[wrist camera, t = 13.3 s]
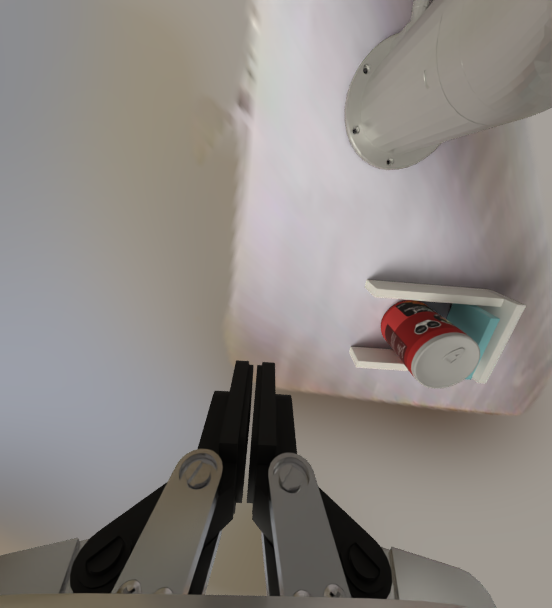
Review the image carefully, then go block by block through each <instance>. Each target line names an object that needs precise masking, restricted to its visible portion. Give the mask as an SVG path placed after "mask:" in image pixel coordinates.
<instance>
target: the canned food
mask: <svg viewBox="0 0 552 608" xmlns="http://www.w3.org/2000/svg"><path fill="white" fill-rule="evenodd" d="M381 332H382V335H383V337H384V339H385V340H386V341H387V343H388V344H389V345H390V347H391V348H392V349H393V351H394V352H395V353H396V354H397V356H398V357H399V358H400V360H401V361H402V362H403V364H404V365H405V366H406V368H407V369H408V370H409V372H410V373H411V374H412V375H413V377H414V378H415V379H416V380H417V381H418V382H419V383H420V384H422V385H423V386H425V387H428V388H434V389H439V388H446V387H450V386H453V385H455V384H457V383H459V382H461V381H462V380H464V379H465V378H467V377H468V376H469V375H470V374H471V373H472V372H473V371H474V369H475V368H476V366H477V365H478V362H479V359H480V349H479V346H478V344H477V343H476V342H475V341H474V340H473V339H472V338H471V337H470V336H468V335H467V334H466V333H464V332H463V331H462V330H460V329H459V328H458V327H456V326H455V325H453V324H452V323H451V322H449V321H448V320H446V319H445V318H444V317H442V316H441V315H439V314H438V313H437V312H435V311H434V310H433V309H431V308H430V307H428V306H427V305H426V304H424V303H422V302H419V301H413V300H406V301H402V302H399V303H397V304H395V305H393V306H392V307H391V308H389V310H388V311H387V312H386V313H385V314H384V316H383V318H382V321H381Z"/></svg>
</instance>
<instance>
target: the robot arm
mask: <svg viewBox="0 0 552 608" xmlns="http://www.w3.org/2000/svg"><path fill="white" fill-rule="evenodd" d="M428 5H429V0H414V3H413V7H412V15H411V20H410V23H408V24H407V25H406V26H405V27H404V29H403V30H402V31H401V32H400V33H397V34H394V35H392V36H390V37H389V38H387V39H385V40H383V41H382V42H381V43H380V44H378V45H377V46H376V47H375V48H374V49H373V50H372V51H371V52H370V53H369V54H368V55H367V57H366V58H365V59H364V60H363V62H362V63H361V65H360V66H359V68H358V69H357V71H356V73H355V75H354V77H353V79H352V81H351V84H350V87H349V90H348V93H347V97H346V103H345V126H346V132H347V135H348V138H349V141H350V143H351V145H352V147H353V149H354V150H355V152H356V153H357V154H358V155H359V156H360V158H361V159H362V160H364V161H365V162H367V163H368V164H369V165H371V166H374V167H376V168H379V169H385V170H395V169H402V168H406V167H409V166H412V165H414V164H416V163H418V162H420V161H422V160H423V159H425V158H426V157H427V156H429V155H430V154H431V153H432V152H433V151H435V149H436V148H437V147H438V146H439V145H440V144H441V143H442V142H445V141H449V140H452V139H455V138H459V137H462V136H466V135H469V134H473V133H476V132H479V131H483V130H486V129H490V128H493V127H497V126H500V125H503V124H507V123H510V122H514V121H517V120H521V119H524V118H527V117H530V116H533V115H536V114H538V113H541V112H543V111H545V110H548V109H550V108H552V0H434V1H433V2H432V3H431V5H430V6H429V7H428ZM363 70H366V74H365V73H364V72H363ZM353 129H354V130H356V133H355V134H353V132H352V131H353ZM387 160H389V164H388V165H387ZM252 380H253V365H249V361H236V364H235V369H234V374H233V378H232V383H231V388H230V392H228V391H215V392H214V394H213V397H212V401H211V404H210V408H209V411H208V415H207V418H206V422H205V425H204V429H203V432H202V435H201V439H200V443H199V446H198V449H197V450H193V451H191V452H189V453H187V454H186V455H185V456H184V457H182V459H180V461H179V462H178V464H177V465H176V467H175V469H174V471H173V473H172V475H171V477H170V479H169V481H168V482H167V483H165V484H164V485H163V486H161V487H160V488H158V489H157V490H156V491H154V492H153V493H151V494H150V495H149V496H147V497H146V498H144V499H143V500H142V501H140V502H139V503H137V504H136V505H135V506H133V507H132V508H130V509H129V510H128V511H126V512H125V513H123V514H122V515H121V516H119V517H118V518H116V519H115V520H114V521H112V522H111V523H109V524H108V525H107V526H105V527H104V528H102V529H101V530H100V531H98V532H97V533H96V534H95V535H94V536H92V537H91V538H90V539H87V540H83V541H79V539H78V538H75V539H70V540H66V541H62V542H57V543H53V544H49V545H44V546H40V547H35V548H31V549H27V550H22V551H18V552H14V553H9V554H5V555H1V556H0V608H496V606H495V604H494V602H493V600H492V598H491V596H490V594H489V593H488V592H487V590H486V589H485V588H484V587H483V585H482V584H481V583H480V582H479V581H478V580H477V579H476V578H475V577H473V576H472V575H471V574H470V573H468V572H466V571H464V570H462V569H460V568H457V567H454V566H451V565H448V564H445V563H442V562H438V561H436V560H432V559H429V558H426V557H423V556H420V555H416V554H413V553H410V552H407V551H404V550H401V549H398V548H394V547H391V549H390V550H389V549H386V548H383V547H380V545H379V544H378V543H377V542H376V541H375V540H374V539H373V538H372V537H371V536H370V535H369V534H368V533H367V532H366V531H365V530H364V529H363V528H362V527H361V526H359V525H358V524H357V523H356V522H355V521H354V520H353V519H352V518H351V517H350V516H349V515H348V514H347V513H346V512H345V511H344V510H342V509H341V508H340V507H339V506H338V505H337V504H336V503H335V502H334V501H333V500H332V499H331V498H330V497H329V496H328V495H327V494H326V493H324V492H323V491H322V490H321V489H320V488H319V487H318V485H317V481H316V478H315V474H314V471H313V469H312V467H311V465H310V464H309V463H308V462H307V460H306V459H304V458H303V457H302V456H300V455H298V454H297V449H296V439H295V428H294V418H293V408H292V398H291V395H281V394H275V363H269V362H262V365H257V376H256V390H255V401H254V413H253V425H252V426H253V427H252V438H251V451H250V465H249V479H248V493H247V503H253V510H252V514H253V518H252V520H253V521H254V522H255V523H256V525H257V526H258V527H259V529H260V530H261V531H262V547H263V557H264V569H265V580H266V590H267V596H234V595H205V593H206V589H207V586H208V582H209V578H210V574H211V571H212V567H213V563H214V560H215V556H216V552H217V549H218V545H219V541H220V538H221V533H222V529H223V528H224V527H225V526H226V525H227V524H228V523H229V522H230V521H231V520H232V519H233V513H235V506H236V503H242V496H243V486H244V475H245V464H246V454H247V444H248V433H249V423H250V410H251V395H252Z"/></svg>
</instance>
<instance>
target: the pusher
mask: <svg viewBox="0 0 552 608" xmlns="http://www.w3.org/2000/svg"><path fill="white" fill-rule="evenodd" d="M446 320H448V321H449V322H451V323H452V324H453V325H455V326H456V327H458V328H459V329H460V330H462V331H463V332H464V333H466V334H467V335H468V336H470V337H471V338H472V339H473V340H474V341H475V342H476V343H477V344H478V346H479V349H480V359H479V362H480V360H481V357H482V355H483V353H484V351H485V349H486V347H487V345H488V343H489V341H490V339H491V337H492V335H493V333H494V331H495V329H496V326H497V324H498V322H499V320H500V319H499V318H498V317H496V316H494V315H492V314H490V313H489V312H487V311H485V310H483V309H481V308H480V307H478V306H476V305H469V304H456V303H453V304H452V306H451V309H450V311H449V314H448V316H447V319H446ZM479 362H478V364H479ZM477 366H478V365H477ZM477 366H476V368H477ZM476 368H475V369H474V371H473V372H472V373H471V374H470V375H469V376H468V377H467V378H465V379H470V380H471V378H472V376H473V374H474V372H475V370H476Z"/></svg>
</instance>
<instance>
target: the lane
mask: <svg viewBox="0 0 552 608" xmlns="http://www.w3.org/2000/svg"><path fill="white" fill-rule="evenodd" d="M365 288H366V289H367V290H368V291H369V292H370V293H371V294H372V295H373V296H374V297H378V298H391V299H404V300H417V301H430V302H443V303H456V304H469V305H476V306H478V307H480V308H481V309H483V310H485V311H487V312H489V313H490V314H492V315H494V316H496V317H498V318H499V319H500V320H499V322H498V324H497V326H496V329H495V331H494V333H493V335H492V337H491V339H490V341H489V343H488V345H487V347H486V349H485V351H484V353H483V355H482V357H481V360H480V362H479V364H478V366H477V368H476V370H475V372H474V374H473V376H472V378H473V379H474V380H475V381H476V382H477V383H480V384H486V382H487V380H488V378H489V376H490V374H491V373H492V371H493V369H494V367H495V365H496V363H497V361H498V359H499V357H500V355H501V353H502V351H503V349H504V347H505V345H506V343H507V342H508V340H509V338H510V336H511V334H512V332H513V330H514V328H515V326H516V324H517V322H518V320H519V318H520V316H521V314H522V313H523V311H524V309H525V307H526V305H524V304H522V303H519V302H517V301H515V300H513V299H510V298H508V297H506V296H504V295H501V294H499V293H497V292H495V291H492V290H490V289H478V288H466V287H453V286H441V285H428V284H416V283H403V282H391V281H379V280H366V284H365ZM349 353H350V355H351V357H352V359H353V361H354V363H355V366H356V368H371V369H387V370H402V371H409V370H408V369H407V368H406V366H405V365H404V364H403V362H402V361H401V360H400V358H399V357H398V356H397V354H396V353H395V352H394V351H393V349H380V348H365V347H350V352H349Z"/></svg>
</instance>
